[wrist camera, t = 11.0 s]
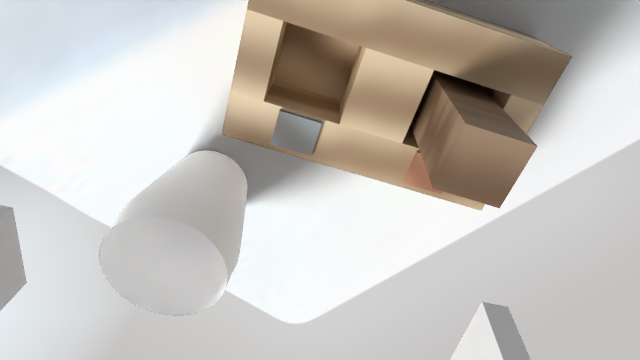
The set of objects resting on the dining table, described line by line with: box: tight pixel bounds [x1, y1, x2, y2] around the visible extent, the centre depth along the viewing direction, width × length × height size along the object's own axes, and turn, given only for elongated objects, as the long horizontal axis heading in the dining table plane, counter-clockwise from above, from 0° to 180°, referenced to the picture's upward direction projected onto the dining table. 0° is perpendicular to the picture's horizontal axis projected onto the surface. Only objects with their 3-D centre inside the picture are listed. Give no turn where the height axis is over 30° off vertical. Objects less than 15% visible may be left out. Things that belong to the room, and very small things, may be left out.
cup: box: [99, 150, 248, 316], centre depth 34 cm, size 9×9×12 cm
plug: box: [410, 70, 537, 208], centre depth 28 cm, size 4×4×12 cm
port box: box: [222, 0, 572, 210], centre depth 31 cm, size 12×20×6 cm, turn 73°
